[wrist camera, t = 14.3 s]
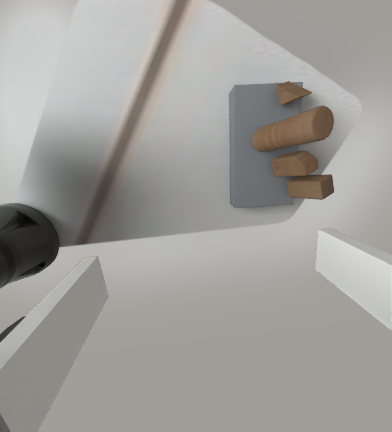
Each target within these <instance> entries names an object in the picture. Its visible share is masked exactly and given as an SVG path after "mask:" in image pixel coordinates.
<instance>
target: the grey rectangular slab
mask: <svg viewBox="0 0 392 432" xmlns="http://www.w3.org/2000/svg"><path fill="white" fill-rule="evenodd" d="M278 84H282V83H273V84H252V85H235V86H234V87H233V89H232V90H231V92H230V93H229V120H230V204H231V205H232V206H233V207H234V208H245V207H260V206H274V205H289V204H293V197H289V195H288V190H287V185H286V182H287V181H289V180H290V179H292V178H294V177H295V176H281V177H274V176H273V172H272V168H271V163H270V160H271V159H273V158H275V157H277V156H279V155H282V154H287V153H293V152H297V148H298V145H295V146H290V147H285V148H280V149H275V150H270V151H265V152H259V151H257V150H255V148H254V147H253V145H252V136H253V134H254V132H255V131H256V130H257V129H258V128H260V127H263V126H266V125H269V124H271V123H274V122H277V121H280V120H283V119H286V118H288V117H291V116H294V115H297V114H300V111H301V99H302V98H299V99H297V100H295V101H292V102H290V103H287V104H284V105H281V106H279V102H278V97H277V91H276V85H278ZM293 84H295V85H298V86H300V87H302V86H303V82H293Z"/></svg>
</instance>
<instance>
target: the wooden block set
mask: <svg viewBox="0 0 392 432" xmlns="http://www.w3.org/2000/svg"><path fill="white" fill-rule="evenodd" d="M276 91H277V97H278V102H279V106H281V105H284V104H287V103H290V102H292V101H295V100H297V99H299V98H302V97H304V96H306V95H309V94H311V93H312V92H310V91H308V90H306V89H304V88H302V87H300V86H298V85H295V84H293V83H291V82H289V81H288V82H285V83H282V84H278V85H276ZM333 124H334V118H333V114H332V112H331V110H330V109H329V108H328V107H325V106H319V107H316V108H314V109H311V110H308V111H305V112H302V113H300V114H297V115H294V116H291V117H288V118H286V119H283V120H280V121H277V122H274V123H271V124H269V125H266V126H263V127H260V128H258V129H257V130H256V131H255V132H254V134H253V136H252V145H253V147H254V148H255V150H257V151H259V152H265V151H270V150H275V149H280V148H285V147H290V146H295V145H300V144H305V143H310V142H315V141H320V140H324V139H325V138H327V137H328V136H329V135H330V133H331V131H332V129H333ZM270 163H271V168H272V172H273V176H274V177H281V176H296V177H294V178H292V179H290V180H289V181H287V182H286V185H287V190H288V195H289V197H293V198H307V199H320V200H322V199H325V198H326V197H327V196H329V195H331V194H332V193H333V192H334V187H333V179H332V175H308V174H309V173H311V172H313V171H315V170H316V169H318V162H317V159H316V158H315V157H314V156H312V155H311V154H310V153H308V152H307V151H299V152H293V153H287V154H282V155H279V156H277V157H275V158H273V159H271V160H270Z"/></svg>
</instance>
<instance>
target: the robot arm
mask: <svg viewBox="0 0 392 432" xmlns="http://www.w3.org/2000/svg"><path fill="white" fill-rule="evenodd" d="M58 251H59V239H58V235H57V233H56V230H55V228H54V227H53V225H52V224H51V223H50V221H49V220H48V219H47V218H46V217H45V216H44V215H42V214H41V213H40V212H38V211H36V210H35V209H33V208H31V207H28V206H25V205H21V204H14V203H9V204H2V205H0V288H2V287H3V286H5V285H6V284H8V283H11V282H14V281H17V280H20V279H23V278H26V277H29V276H32V275H35V274H37V273H39V272H41V271H42V270H44V269H45V268H46V267H48V266H49V265H50V264H51V263H52V262H53V261H54V260H55V258H56V256H57V254H58ZM315 270H317V271H318V272H319V273H320V274H322V275H323V276H324V277H325V278H327V279H328V280H329V281H330V282H332V283H333V284H334V285H335V286H337V287H338V288H339V289H340V290H342V291H343V292H344V293H345V294H347V295H348V296H349V297H350V298H352V299H353V300H354V301H355V302H357V303H358V304H359V305H360V306H362V307H363V308H364V309H365V310H367V311H368V312H369V313H370V314H371V315H373V316H374V317H375V318H376V319H378V320H379V321H380V322H382V323H383V324H384V325H386V327H388V328H389V329H390V330H391V331H392V255H391V254H388V253H386V252H384V251H382V250H379V249H377V248H375V247H373V246H370V245H368V244H366V243H364V242H361V241H359V240H357V239H355V238H352V237H350V236H348V235H346V234H343V233H341V232H339V231H337V230H334V229H332V228H327V229H319V234H318V244H317V255H316V266H315ZM107 298H108V293H107V289H106V286H105V281H104V278H103V274H102V270H101V266H100V262H99V259H98V256H93V257H85V258H83V259H82V260H81V261H80V262H79V263H78V264H77V265H76V266H75V267H74V268H73V269H72V270H71V271H70V272H69V273H68V274H67V275H66V276H65V278H63V279H62V281H61V282H59V284H58V285H57V286H56V287H55V288H54V289H53V290H52V291H51V292H50V293H49V294H48V295H47V296H46V297H45V298H44V299H43V300H42V301H41V302H40V303H39V304H38V305H37V306H36V307H35V308H34V309H33V310H32V311H31V312H30V313H29V314H28V315H27V316H25V317H22V318H21V319H19V320H18V321H16V322H15V323H14V324H12V325H11V326H9V327H8V328H7V329H5V330H4V331H3V332H2V333H1V334H0V432H38V430H39V428H40V426H41V424H42V423H43V421H44V419H45V417H46V415H47V413H48V411H49V409H50V407H51V405H52V404H53V402H54V400H55V398H56V396H57V394H58V392H59V390H60V388H61V386H62V384H63V382H64V381H65V379H66V377H67V375H68V373H69V371H70V369H71V367H72V365H73V363H74V361H75V360H76V358H77V356H78V354H79V352H80V350H81V348H82V346H83V344H84V342H85V340H86V338H87V336H88V335H89V333H90V331H91V329H92V327H93V325H94V323H95V321H96V319H97V317H98V315H99V314H100V312H101V310H102V308H103V306H104V304H105V302H106V300H107Z"/></svg>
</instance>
